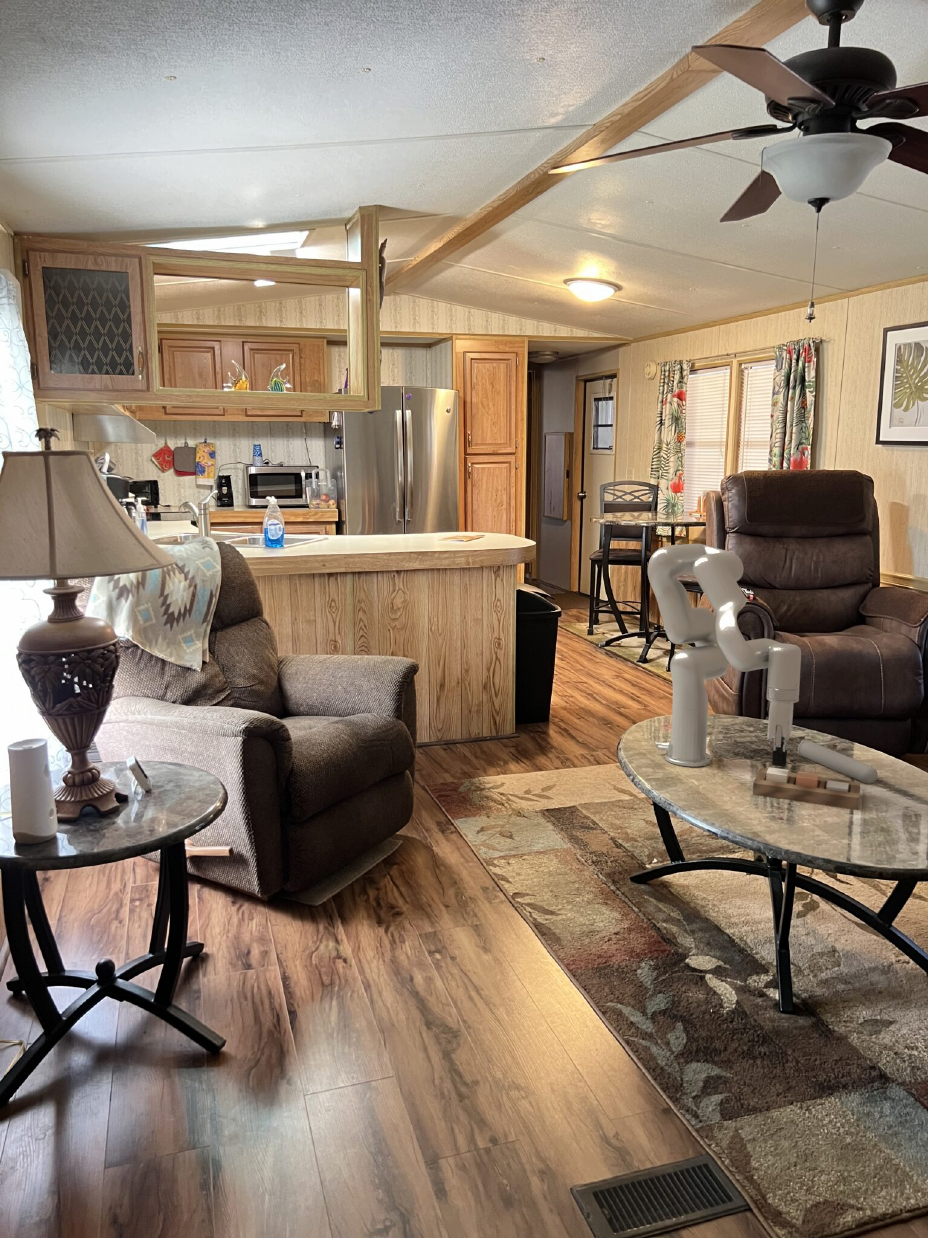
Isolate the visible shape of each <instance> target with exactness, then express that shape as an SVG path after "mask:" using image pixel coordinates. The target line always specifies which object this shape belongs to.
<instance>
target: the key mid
mask: <svg viewBox="0 0 928 1238" xmlns="http://www.w3.org/2000/svg"><path fill="white" fill-rule="evenodd" d="M796 773H797V777H796V785H800V786H807V787H814V788H817V787H818V776H819V775H820V774H819V773H814V772H805V771H799V770H798V771H797V772H796ZM819 777H820V776H819Z"/></svg>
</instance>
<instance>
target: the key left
mask: <svg viewBox="0 0 928 1238" xmlns="http://www.w3.org/2000/svg"><path fill="white" fill-rule="evenodd" d="M789 772H790V770H789V769H784V768H777V767H770V766H769V767H768V771H767V775H766V781H772V782H779V783H786V784H787V783H788V776H789Z"/></svg>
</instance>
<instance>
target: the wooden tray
mask: <svg viewBox="0 0 928 1238" xmlns="http://www.w3.org/2000/svg"><path fill="white" fill-rule="evenodd" d="M767 771H768V769H766V768H759V770H758V772H757V774H756V776H755V779H754V780H753V783H752V785H753V786H752V795H754V796H761V797H767V798H768V797H769V798H774V799H782V800H788V801H794V802H795V801H796V802H801V803H809V804H815V805H821V806H829V807H834V808H835V807H836V808H842V809H850V810H857V811H858V810H859V806H860V805H859V804H860V803H859V802H860V795H861V794H860V793H861V783H862V782H861V781H857V780H847V779H839V778H833V777H827V776H826V777H825V776H818V787H817V788H814V787H807V786H800V785H796V777H797V773H798V772H791V771H789V776H788V783H787V784H786V783H779V782H772V781H766V775H767ZM828 780H829V781H837V782H844V783H849V786H848V792H843V791H836V790H829V789H826V786H827V782H828Z"/></svg>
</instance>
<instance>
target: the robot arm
mask: <svg viewBox="0 0 928 1238" xmlns="http://www.w3.org/2000/svg"><path fill="white" fill-rule="evenodd" d="M690 575H694V577H695V579H696V581H697V583H698V585H699V587H700V588H701V590H702V592H703V593H704V595H705V598H706V599H707V600H708V603H709V604H710V606H711V607H712V609H713V611H714V613H715V614H714V613H713V612H712V611H711V610H710V609H708V608H706V607H693V606H692V604H691V601H690V597H689V594H688V592H687V590H686V588H685V587H684V585H683V583H682V582H681V581H680V580H679V579H678V577H679V576H690ZM743 575H744V563H743V562H742V559H741V558H740V557H739V556H738V555H737V554H736V553H734V552H732V551H728V550H725V549H722V548H717V547H713V546H710V545H708V544H707V545H706V544H702V543H688V544H687V543H686V544H671V545H666V546H662V547H660V548H658V549H657V550H655V551H654V552H653V553H652V555H651V556H650V559H649V561H648V564H647V576H648V580H649V581H648V582H649V584H650V586H651V589H652V590H653V591H652V592H653V594H654V596H655V599H656V602H657V605H658V610H659V613H660V616H661V620H662V625H663V626H664V629H665V630H664V631H665V634H666V636H667V638H668V640H669V641H670V642H671V643H672V644H675V645H686V644H693V643H694V645H695V646H693V647H689V648H688V647H687V648H682V649H681V650H679V651H677V652H676V653H675V654H674V655H673V656H672V658H671V660H670V662H669V663H670V664H669V668H670V669H669V670H670V676H671V681H672V682H671V683H672V706H671V707H672V708H671V731H670V733H671V735H670V737H671V739H670V741H667V742H664V741H660V740H655V748H656V749H657V750H658V751H665V753H664V759H665V761H667V762H669V763H670V764H673V765H677V766H683V767H691V768H692V767H704V766H707V765H710V764H711V763H712V759H713V758H712V756H711V755H710V754H708V753H707V739H708V738H707V737H708V720H709V719H708V716H709V714H708V713H709V696H708V695H709V694H708V691H707V689H706V686H705V682H706V681H708V680H714V679H718V678H721V677H723V676H725V674H726V673H727V672H728V670H729V667H730V665H731V667H733V668H734V669H735V670H736V671H738V672H745V673H747V672H751V671H756V670H762V669H767V680H766V681H767V684H766V685H767V686H766V700H767V701H769V709H768V722H767V736H766V739H767V740H768V741H771V740H773V748H772V761H771V765H772V766H773V767H775V766H776V767H783V768H784V767H786V766H787V757H788V749H787V745H788V741H789V740H790V736H791V733H792V727H793V718H794V717H793V716H794V704H795V703H798V702H799V701H800V685H801V684H800V679H801V664H802V662H801V661H802V650H801V647H800V646H798V645H795V644H791V643H782V642H779V641H776V640H775V639H771V638H768V637H767V638H765V637H764V638H757V639H751V640H746V639H745V638H744V636H743V634H742V633H741V630H740V629H739V625H738V619H737V618H738V615H739V612H740V611H741V610H742V609H743V608H744V607H745V606H746V604H747V599H746V598H747V597H746V595H745V594H744V592H743V591H742V589H741V587H740V586H739V585H738V583H737V582H738V581H740V580H741V579H742V577H743Z"/></svg>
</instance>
